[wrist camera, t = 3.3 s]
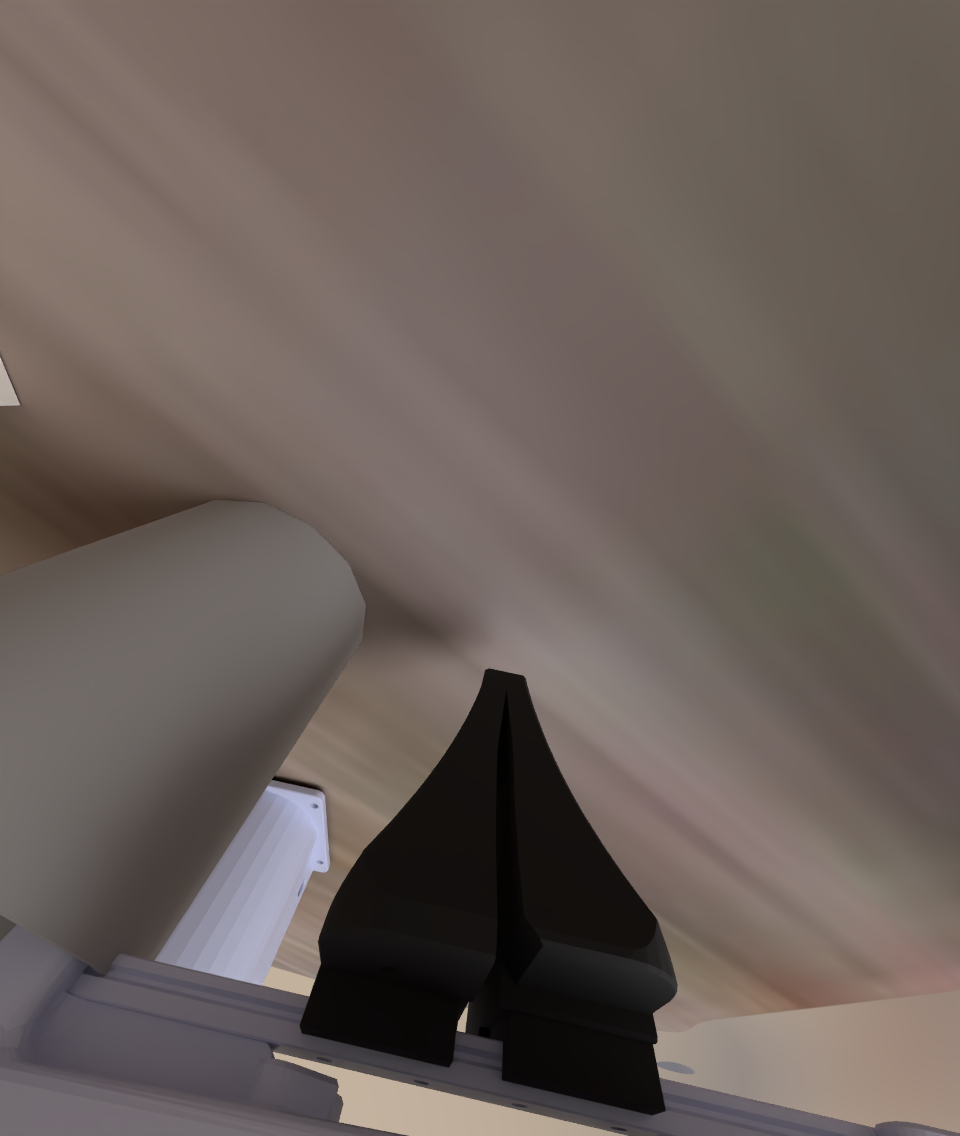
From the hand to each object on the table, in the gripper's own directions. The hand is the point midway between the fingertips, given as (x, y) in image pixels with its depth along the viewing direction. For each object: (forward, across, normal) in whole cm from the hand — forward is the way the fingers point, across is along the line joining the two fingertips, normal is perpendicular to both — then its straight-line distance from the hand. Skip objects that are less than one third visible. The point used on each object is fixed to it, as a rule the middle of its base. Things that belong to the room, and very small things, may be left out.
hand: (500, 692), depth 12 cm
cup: (+3, +10, 0) cm, 10 cm away
